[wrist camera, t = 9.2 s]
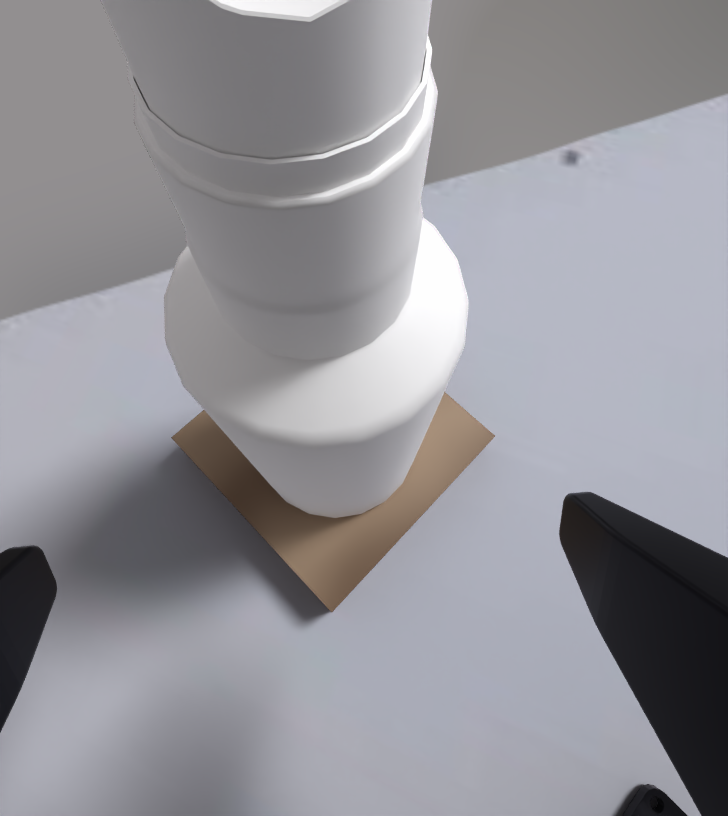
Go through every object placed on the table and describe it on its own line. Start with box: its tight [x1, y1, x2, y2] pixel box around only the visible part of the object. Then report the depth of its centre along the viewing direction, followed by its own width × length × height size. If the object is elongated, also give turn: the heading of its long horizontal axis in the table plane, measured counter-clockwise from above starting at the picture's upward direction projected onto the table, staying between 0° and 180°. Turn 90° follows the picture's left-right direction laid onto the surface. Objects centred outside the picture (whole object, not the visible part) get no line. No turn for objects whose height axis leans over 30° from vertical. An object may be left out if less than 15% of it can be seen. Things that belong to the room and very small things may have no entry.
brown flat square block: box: [171, 392, 495, 612], centre depth 22 cm, size 10×10×2 cm
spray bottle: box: [100, 0, 469, 518], centre depth 13 cm, size 7×7×18 cm
